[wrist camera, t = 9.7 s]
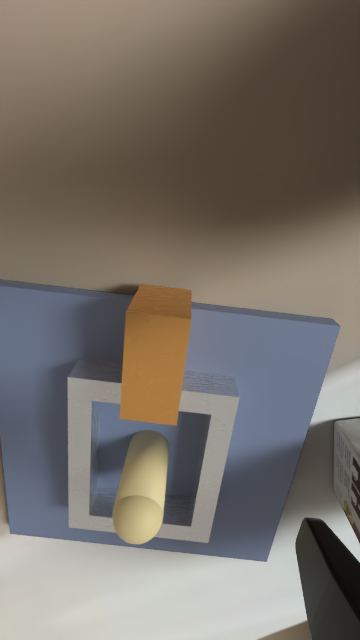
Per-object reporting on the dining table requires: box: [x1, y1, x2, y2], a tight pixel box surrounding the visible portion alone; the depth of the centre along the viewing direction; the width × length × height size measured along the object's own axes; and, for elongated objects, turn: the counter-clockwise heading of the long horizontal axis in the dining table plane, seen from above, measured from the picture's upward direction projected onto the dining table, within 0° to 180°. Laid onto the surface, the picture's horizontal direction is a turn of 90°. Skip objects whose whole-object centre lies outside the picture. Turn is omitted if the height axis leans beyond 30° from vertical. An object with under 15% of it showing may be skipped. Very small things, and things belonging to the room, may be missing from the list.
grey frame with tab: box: [68, 284, 240, 543], centre depth 17 cm, size 15×8×4 cm, turn 173°
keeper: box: [0, 280, 340, 562], centre depth 18 cm, size 18×18×7 cm
